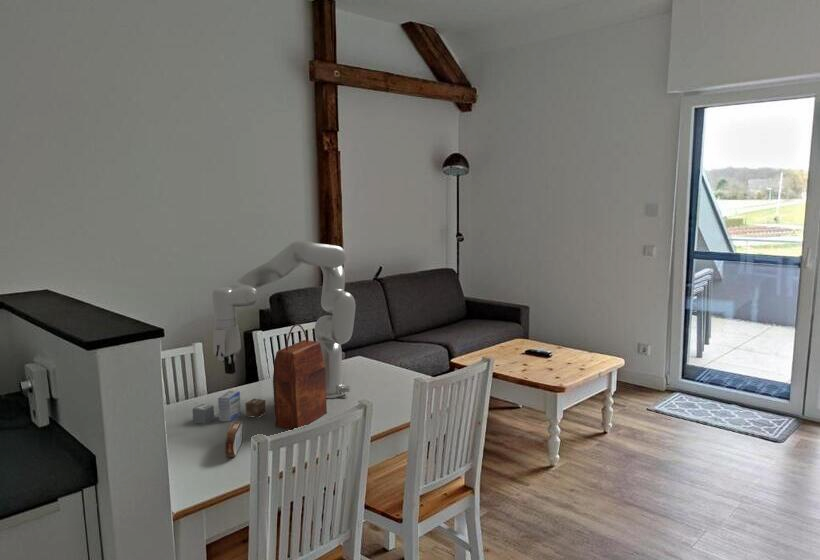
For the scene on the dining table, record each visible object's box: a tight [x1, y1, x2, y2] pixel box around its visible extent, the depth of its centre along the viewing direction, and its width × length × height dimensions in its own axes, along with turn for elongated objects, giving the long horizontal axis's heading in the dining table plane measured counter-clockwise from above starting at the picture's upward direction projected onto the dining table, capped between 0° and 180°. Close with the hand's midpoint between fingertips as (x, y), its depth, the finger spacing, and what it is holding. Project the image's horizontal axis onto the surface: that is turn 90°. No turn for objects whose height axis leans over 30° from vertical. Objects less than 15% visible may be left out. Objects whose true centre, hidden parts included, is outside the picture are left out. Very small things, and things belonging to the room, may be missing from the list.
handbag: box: [272, 323, 328, 430], centre depth 206 cm, size 10×19×35 cm, turn 155°
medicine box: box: [217, 390, 242, 422], centre depth 210 cm, size 8×4×9 cm, turn 168°
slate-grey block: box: [192, 403, 215, 425], centre depth 208 cm, size 5×5×5 cm
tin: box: [224, 420, 244, 458], centre depth 182 cm, size 15×3×8 cm, turn 5°
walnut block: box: [245, 398, 267, 418], centre depth 213 cm, size 5×5×5 cm
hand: (230, 373), depth 209 cm, fingers closed
